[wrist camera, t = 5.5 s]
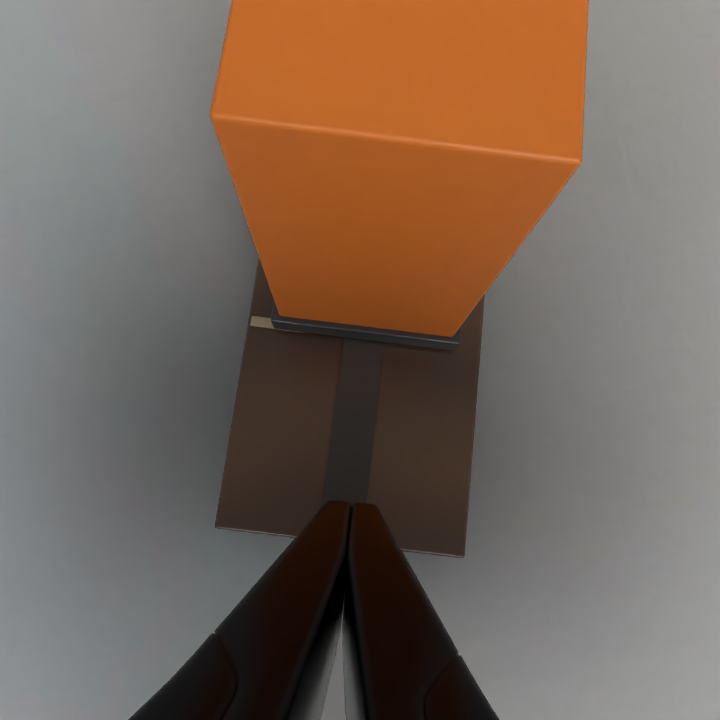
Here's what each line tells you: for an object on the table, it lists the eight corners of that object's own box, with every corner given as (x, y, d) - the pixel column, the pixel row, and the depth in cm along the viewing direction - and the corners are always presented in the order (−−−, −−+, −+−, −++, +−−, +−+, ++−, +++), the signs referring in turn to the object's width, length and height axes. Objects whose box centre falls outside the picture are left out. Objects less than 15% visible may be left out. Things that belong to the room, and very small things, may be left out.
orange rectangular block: (455, 351, 18) (598, 179, 8) (273, 329, 18) (189, 128, 8) (466, 214, 19) (608, -93, 9) (294, 192, 19) (243, -139, 9)
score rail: (454, 553, 18) (491, 573, 14) (224, 525, 18) (186, 536, 14) (499, -3, 22) (539, -124, 18) (313, -27, 22) (306, -154, 18)
